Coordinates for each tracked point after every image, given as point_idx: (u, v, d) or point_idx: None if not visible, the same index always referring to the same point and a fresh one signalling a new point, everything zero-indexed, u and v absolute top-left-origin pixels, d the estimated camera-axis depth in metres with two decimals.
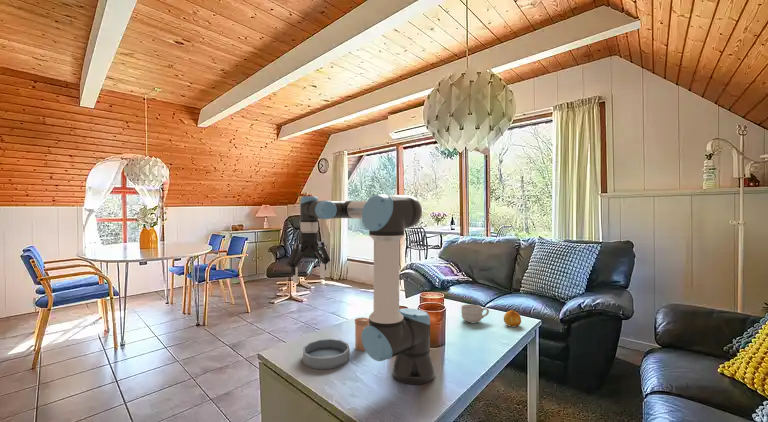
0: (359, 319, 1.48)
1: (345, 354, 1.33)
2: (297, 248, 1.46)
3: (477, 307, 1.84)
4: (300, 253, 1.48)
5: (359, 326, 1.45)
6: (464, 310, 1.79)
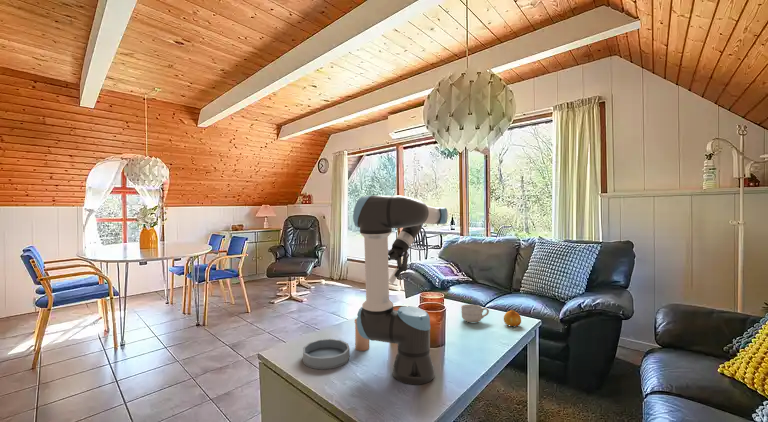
0: None
1: (345, 354, 1.33)
2: None
3: (477, 307, 1.84)
4: None
5: None
6: (464, 310, 1.79)
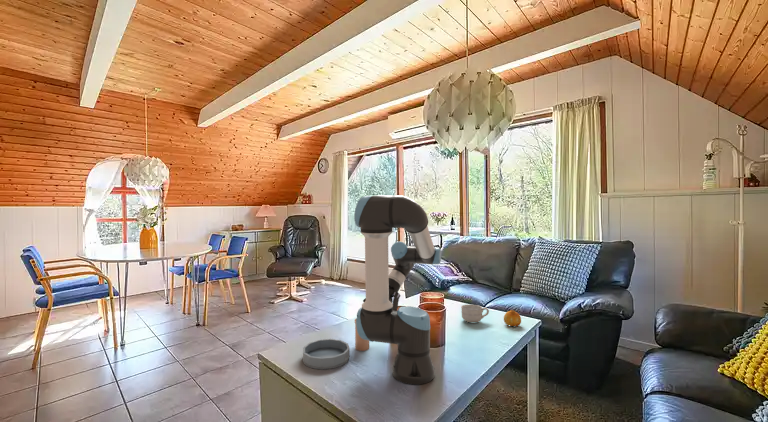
0: None
1: (345, 354, 1.33)
2: None
3: (477, 307, 1.84)
4: None
5: None
6: (464, 310, 1.79)
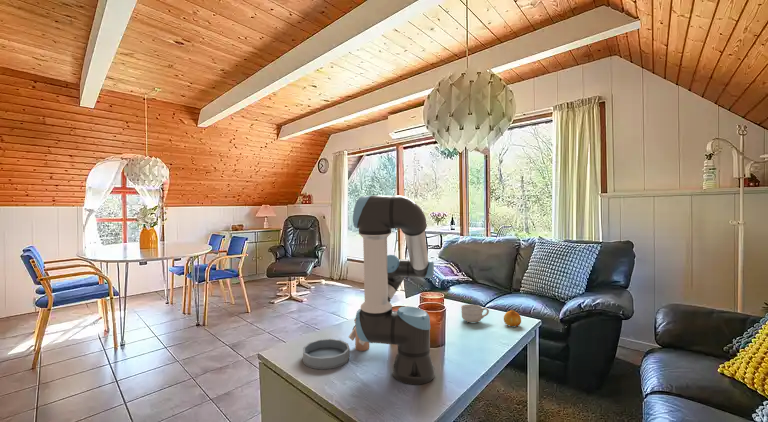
0: None
1: (345, 354, 1.33)
2: None
3: (477, 307, 1.84)
4: None
5: None
6: (464, 310, 1.79)
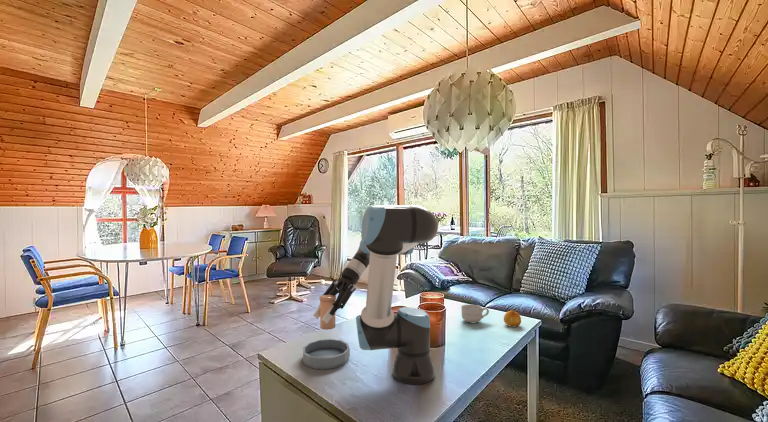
0: (324, 296, 1.39)
1: (345, 354, 1.33)
2: (332, 283, 1.46)
3: (477, 307, 1.84)
4: None
5: (323, 303, 1.35)
6: (464, 310, 1.79)
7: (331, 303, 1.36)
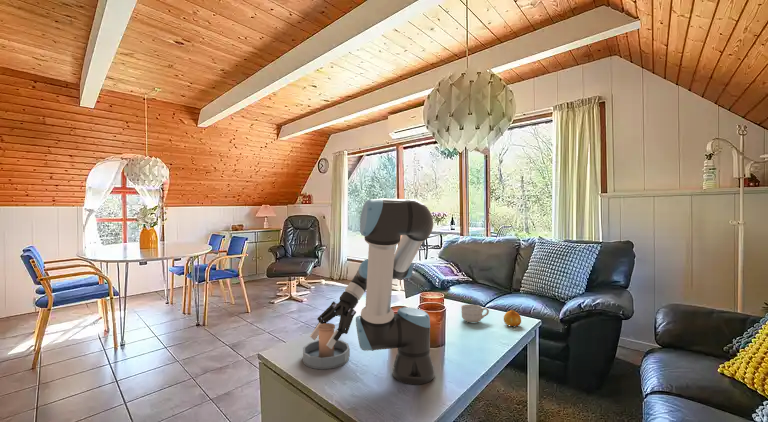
0: (323, 325, 1.38)
1: (345, 354, 1.33)
2: (331, 305, 1.46)
3: (477, 307, 1.84)
4: None
5: (322, 333, 1.35)
6: (464, 310, 1.79)
7: (330, 333, 1.35)
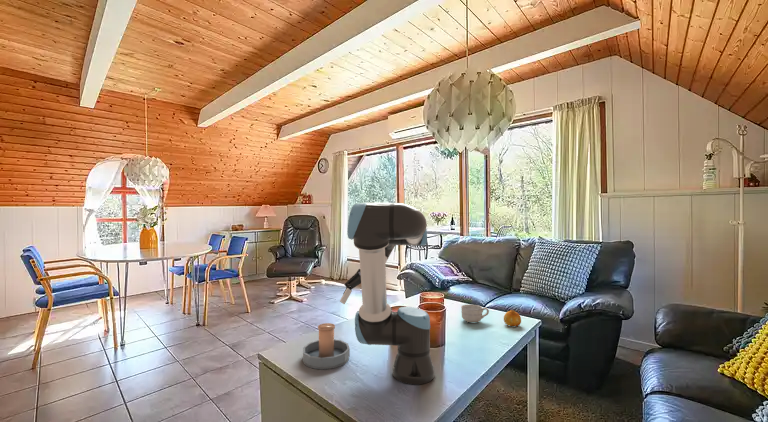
0: (323, 325, 1.38)
1: (345, 354, 1.33)
2: (357, 272, 1.55)
3: (477, 307, 1.84)
4: None
5: (322, 333, 1.35)
6: (464, 310, 1.79)
7: (330, 333, 1.35)
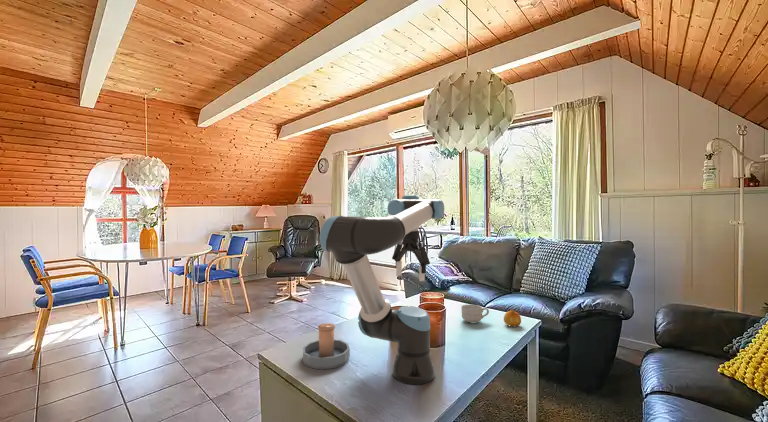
0: (323, 325, 1.38)
1: (345, 354, 1.33)
2: (397, 244, 1.56)
3: (477, 307, 1.84)
4: None
5: (322, 333, 1.35)
6: (464, 310, 1.79)
7: (330, 333, 1.35)
